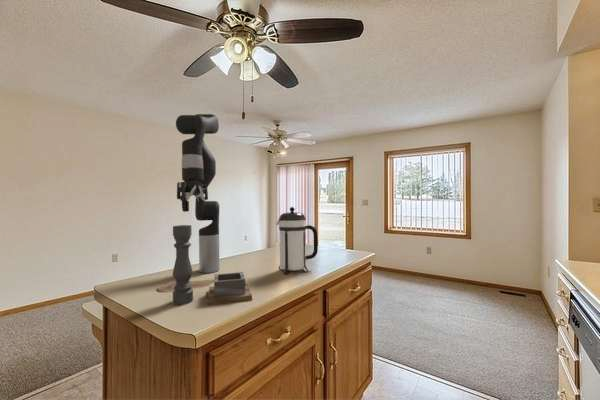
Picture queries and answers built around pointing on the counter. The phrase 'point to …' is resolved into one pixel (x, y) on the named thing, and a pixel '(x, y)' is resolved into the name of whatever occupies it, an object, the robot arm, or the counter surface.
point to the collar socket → (229, 289)
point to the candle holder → (182, 266)
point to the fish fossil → (194, 284)
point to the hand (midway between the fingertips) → (193, 211)
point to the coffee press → (294, 241)
